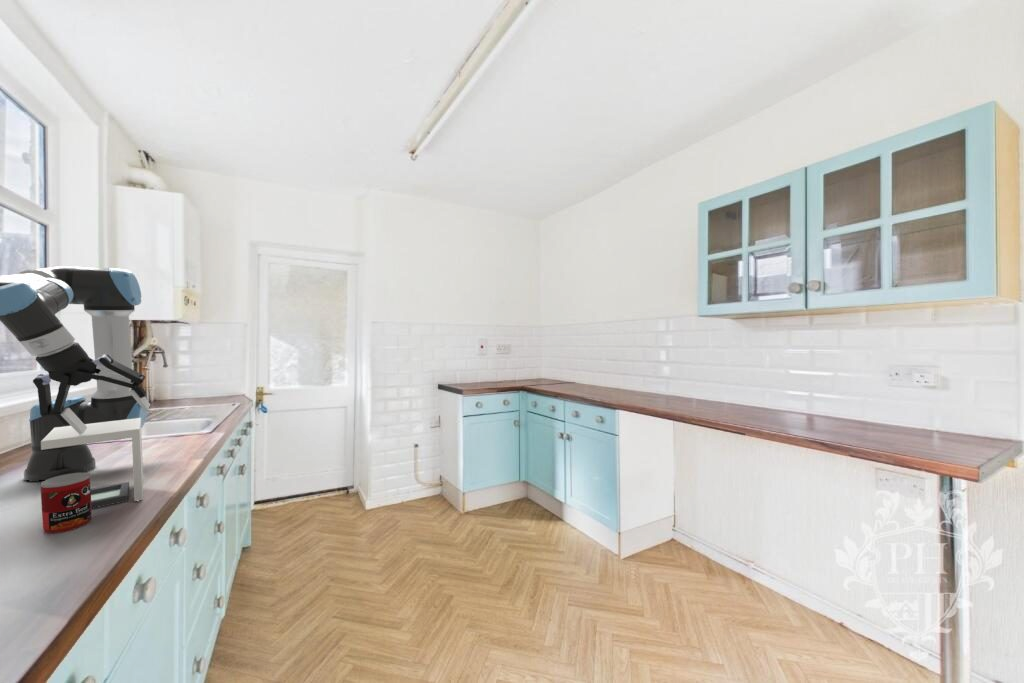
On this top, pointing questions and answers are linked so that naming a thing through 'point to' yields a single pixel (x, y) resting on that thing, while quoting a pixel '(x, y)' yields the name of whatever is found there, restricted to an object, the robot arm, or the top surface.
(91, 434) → the shelf
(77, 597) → the top surface
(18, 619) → the top surface
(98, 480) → the top surface
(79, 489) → the canned food
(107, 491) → the grey picture frame
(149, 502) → the top surface
